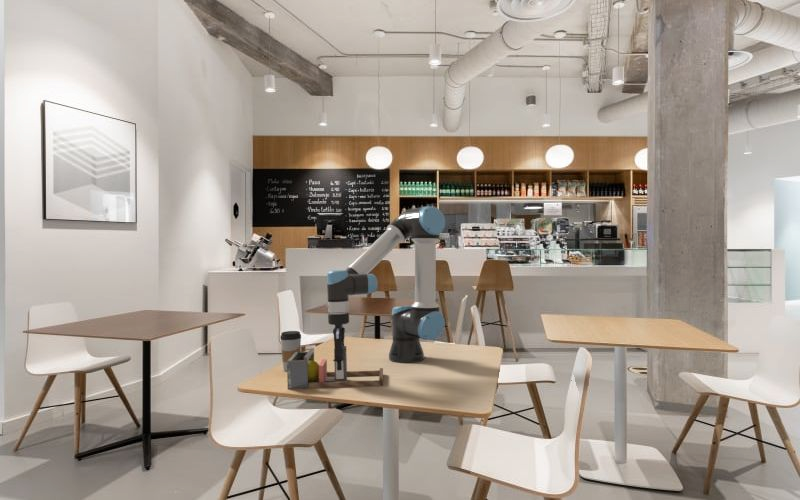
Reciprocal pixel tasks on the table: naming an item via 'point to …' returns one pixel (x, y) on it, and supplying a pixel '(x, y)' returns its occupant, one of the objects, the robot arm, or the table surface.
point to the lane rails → (351, 383)
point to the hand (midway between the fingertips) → (340, 376)
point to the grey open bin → (299, 369)
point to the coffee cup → (289, 345)
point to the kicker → (323, 369)
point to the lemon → (313, 371)
